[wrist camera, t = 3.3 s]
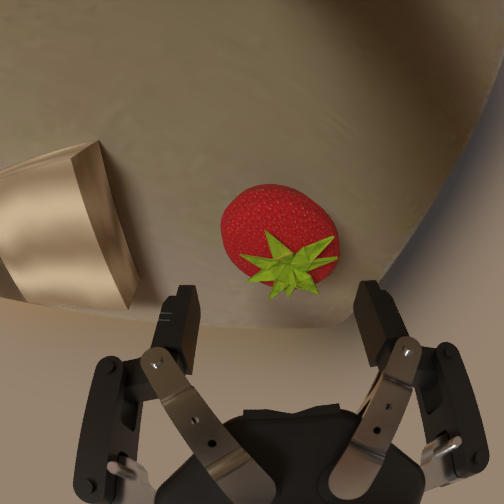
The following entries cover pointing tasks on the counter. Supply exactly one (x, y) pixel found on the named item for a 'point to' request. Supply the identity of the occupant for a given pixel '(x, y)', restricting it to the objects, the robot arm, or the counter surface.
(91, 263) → the plinth
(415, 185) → the counter surface
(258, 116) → the counter surface
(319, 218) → the strawberry
